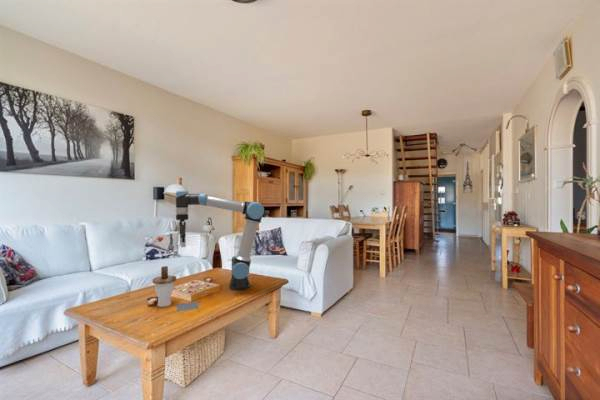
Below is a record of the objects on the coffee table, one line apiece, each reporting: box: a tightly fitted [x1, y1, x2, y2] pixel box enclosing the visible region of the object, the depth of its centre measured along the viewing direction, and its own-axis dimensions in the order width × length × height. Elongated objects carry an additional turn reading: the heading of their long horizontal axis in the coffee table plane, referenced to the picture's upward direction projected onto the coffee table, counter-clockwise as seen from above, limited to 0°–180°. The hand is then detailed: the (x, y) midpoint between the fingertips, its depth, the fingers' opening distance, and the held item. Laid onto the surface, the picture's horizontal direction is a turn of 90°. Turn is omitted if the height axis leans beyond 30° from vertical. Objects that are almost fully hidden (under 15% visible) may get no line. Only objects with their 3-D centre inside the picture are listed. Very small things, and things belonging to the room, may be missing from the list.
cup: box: [154, 281, 175, 308], centre depth 173 cm, size 11×11×15 cm
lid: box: [152, 265, 177, 285], centre depth 173 cm, size 13×13×8 cm
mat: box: [176, 301, 200, 312], centre depth 170 cm, size 12×12×1 cm
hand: (182, 245), depth 188 cm, fingers open, 13 cm apart
